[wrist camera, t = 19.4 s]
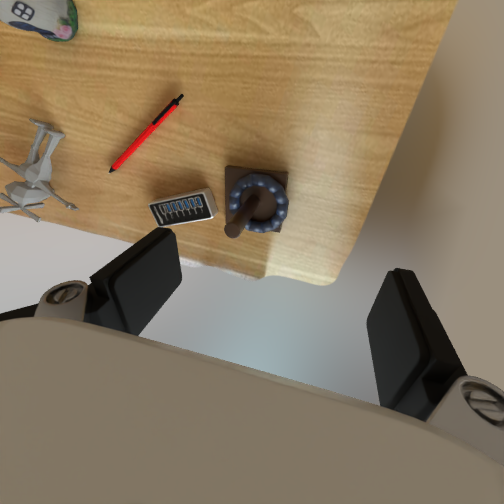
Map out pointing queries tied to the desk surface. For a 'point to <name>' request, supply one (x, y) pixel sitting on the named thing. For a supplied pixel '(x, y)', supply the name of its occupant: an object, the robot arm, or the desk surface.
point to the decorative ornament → (41, 17)
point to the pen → (146, 132)
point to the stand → (250, 200)
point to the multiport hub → (184, 208)
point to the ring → (272, 187)
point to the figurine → (34, 175)
